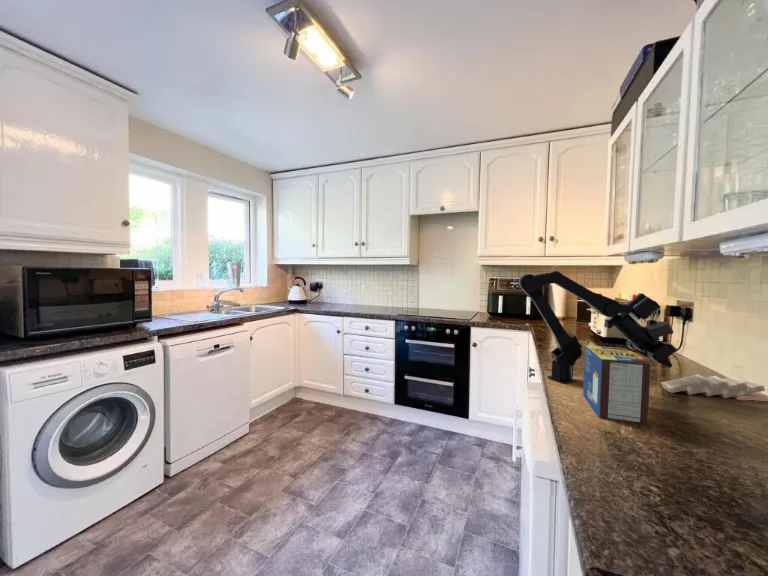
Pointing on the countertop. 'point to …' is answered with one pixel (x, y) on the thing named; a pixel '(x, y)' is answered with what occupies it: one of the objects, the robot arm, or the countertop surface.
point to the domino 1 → (685, 383)
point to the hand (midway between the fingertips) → (670, 366)
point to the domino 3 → (733, 385)
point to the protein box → (617, 383)
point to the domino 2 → (714, 382)
